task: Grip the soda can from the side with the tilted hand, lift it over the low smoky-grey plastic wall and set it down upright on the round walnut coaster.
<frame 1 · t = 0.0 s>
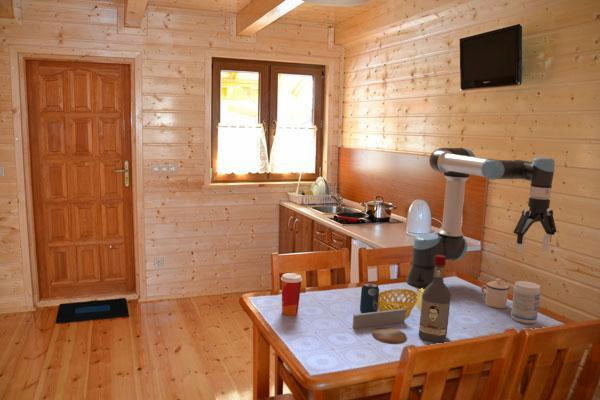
hand: (532, 251, 207), 28 cm above the table, tool pointing down, fingers open, 13 cm apart
walnut coaster: (389, 336, 187), on the table
soda can: (368, 314, 207), on the table
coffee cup: (289, 313, 203), on the table
low wall: (379, 324, 197), on the table
supplement tub: (523, 320, 210), on the table
liquor: (432, 337, 188), on the table
teacup with lid: (492, 304, 227), on the table
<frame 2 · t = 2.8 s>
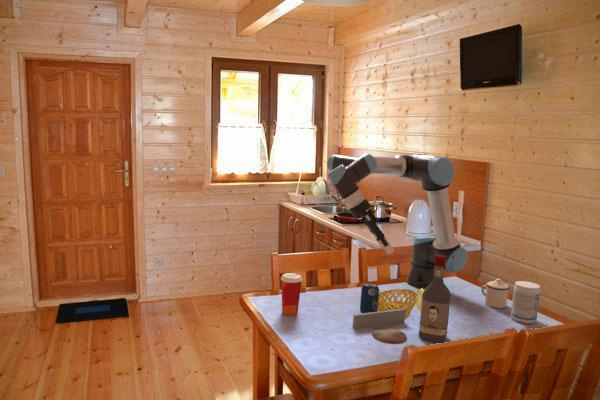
hand: (388, 249, 199), 27 cm above the table, tool tilted 35°, fingers open, 13 cm apart
nothing on the table moved.
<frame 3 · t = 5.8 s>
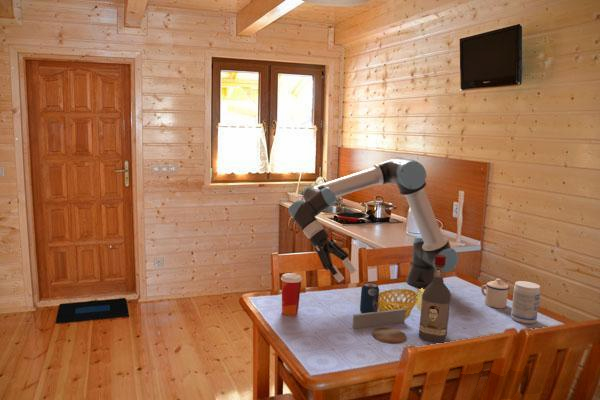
hand: (348, 276, 209), 14 cm above the table, tool tilted 45°, fingers open, 13 cm apart
nothing on the table moved.
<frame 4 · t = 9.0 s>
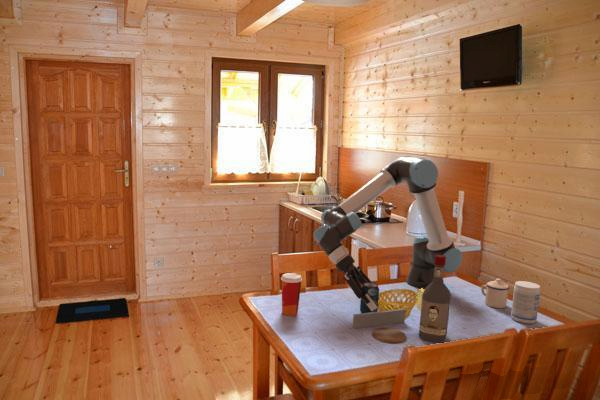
hand: (377, 306, 205), 4 cm above the table, tool tilted 45°, fingers closed on soda can, 7 cm apart
soda can: (368, 314, 207), on the table, touching gripper
everything else where it was.
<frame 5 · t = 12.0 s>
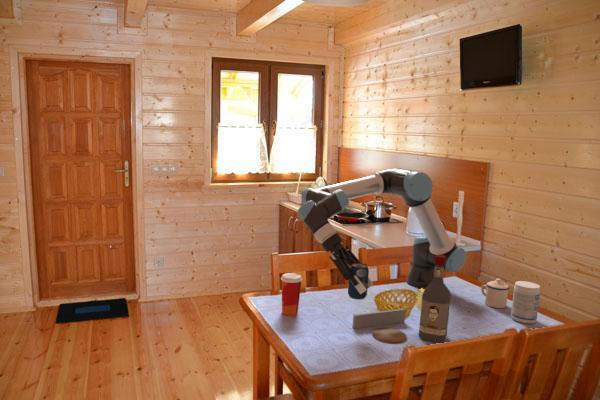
hand: (367, 289, 188), 16 cm above the table, tool tilted 45°, fingers closed on soda can, 7 cm apart
soda can: (357, 297, 191), point 12 cm above the table, touching gripper
everything else where it was.
when the fingers open (6 cm above the table, at t = 15.3 s): soda can drops 1 cm, resting on walnut coaster.
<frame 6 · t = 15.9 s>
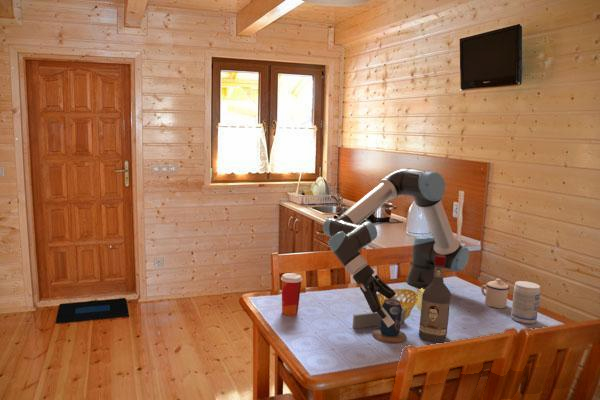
hand: (397, 318, 185), 7 cm above the table, tool tilted 45°, fingers open, 13 cm apart
soda can: (389, 334, 187), resting on walnut coaster
everything else where it was.
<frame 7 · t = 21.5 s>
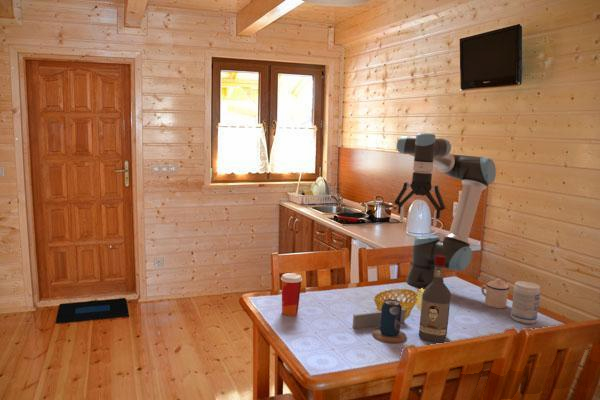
hand: (417, 224, 213), 35 cm above the table, tool pointing down, fingers open, 13 cm apart
nothing on the table moved.
at the end: soda can 0.3 cm from the walnut coaster (horizontally); soda can tilted 0°; the gripper is holding nothing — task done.
